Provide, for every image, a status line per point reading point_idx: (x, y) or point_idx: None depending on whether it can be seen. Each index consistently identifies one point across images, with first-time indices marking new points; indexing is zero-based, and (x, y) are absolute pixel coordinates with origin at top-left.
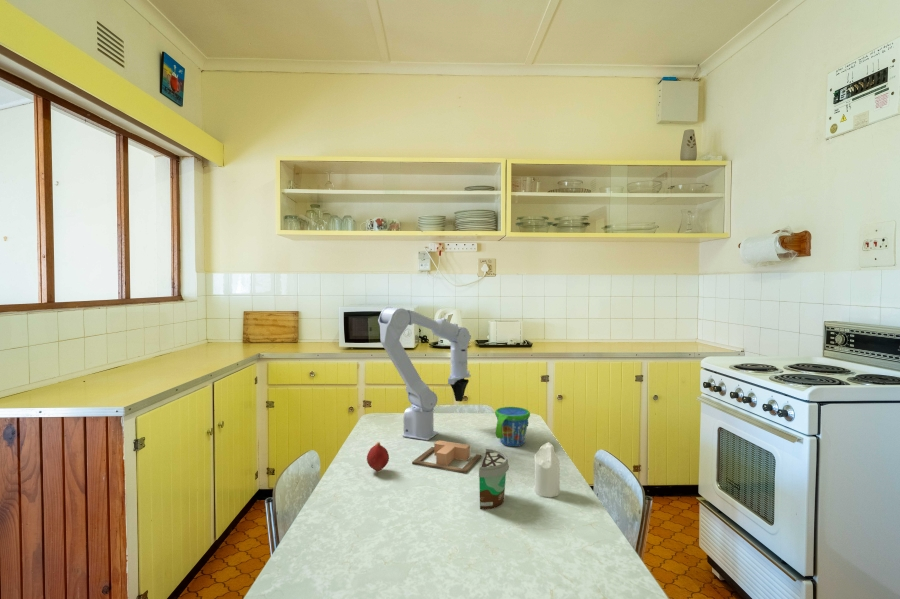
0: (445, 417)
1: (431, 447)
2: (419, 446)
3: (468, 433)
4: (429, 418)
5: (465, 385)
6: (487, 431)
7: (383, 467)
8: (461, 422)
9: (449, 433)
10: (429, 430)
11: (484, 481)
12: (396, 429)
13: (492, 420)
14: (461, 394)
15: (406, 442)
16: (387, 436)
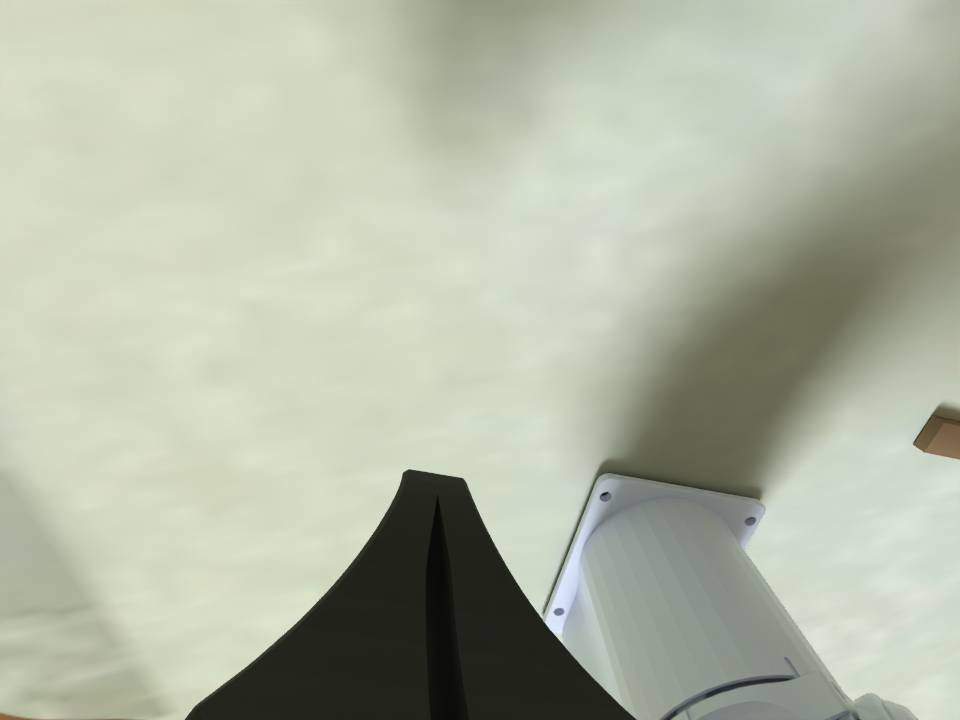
0: (186, 502)
1: (935, 451)
2: (855, 520)
3: (575, 244)
4: (789, 622)
5: (405, 672)
6: (492, 52)
7: None
8: (277, 355)
9: (590, 397)
10: (735, 541)
11: None
12: None
13: (79, 27)
14: (497, 558)
15: None
16: None
